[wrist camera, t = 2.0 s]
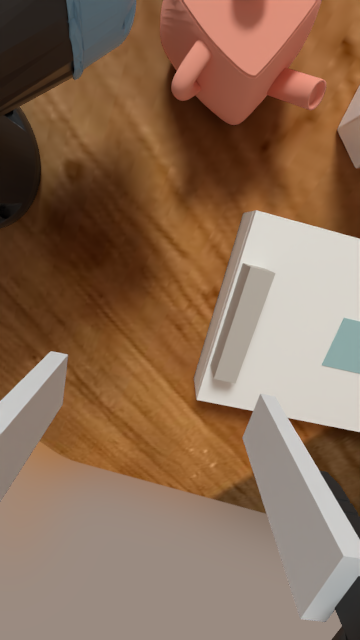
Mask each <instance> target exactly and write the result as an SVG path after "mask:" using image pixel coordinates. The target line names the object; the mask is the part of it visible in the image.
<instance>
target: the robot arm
mask: <svg viewBox="0 0 360 640" xmlns="http://www.w3.org/2000/svg"><path fill="white" fill-rule="evenodd" d="M135 10H136V0H0V228H3V227H6V226H8V225H10V224H12V223H14V222H16V221H17V220H18V219H20V218H21V217H22V216H23V215H24V214H25V213H26V212H27V210H28V209H29V208H30V206H31V204H32V203H33V201H34V199H35V196H36V194H37V191H38V187H39V182H40V171H41V166H40V155H39V149H38V145H37V141H36V138H35V135H34V133H33V130H32V128H31V125H30V123H29V121H28V119H27V118H26V116H25V114H24V113H23V111H22V110H21V108H20V107H19V106H21V105H23V104H25V103H27V102H28V101H30V100H32V99H34V98H36V97H38V96H39V95H41V94H43V93H45V92H47V91H49V90H50V89H52V88H54V87H56V86H58V85H59V84H61V83H63V82H65V81H67V80H69V79H70V78H72V77H73V79H74V80H76V79H78V78H79V77H80V76H81V74H82V72H83V70H84V69H85V68H86V67H88V66H89V65H91V64H92V63H94V62H95V61H97V60H98V59H100V58H101V57H103V56H104V55H106V54H107V53H109V52H110V51H112V50H113V49H115V48H116V47H118V46H119V45H120V44H122V43H123V41H124V40H125V39H126V37H127V36H128V34H129V32H130V30H131V27H132V24H133V21H134V16H135ZM67 361H68V354H63V353H58V352H53V351H50V352H49V353H48V354H47V355H46V356H45V357H44V358H43V359H42V360H41V361H40V362H39V363H38V364H37V365H36V366H35V367H34V368H33V369H32V370H31V371H30V372H29V373H28V374H27V375H26V376H25V377H24V378H23V379H22V380H21V381H20V382H19V383H18V384H17V385H16V386H15V387H14V388H13V389H12V390H11V391H10V392H9V393H8V394H7V395H6V396H5V397H4V398H3V399H2V400H1V401H0V502H1V500H2V498H3V497H4V495H5V494H6V492H7V490H8V489H9V487H10V486H11V484H12V482H13V481H14V480H15V478H16V476H17V475H18V473H19V472H20V470H21V468H22V467H23V466H24V464H25V462H26V461H27V459H28V458H29V456H30V455H31V453H32V451H33V450H34V448H35V447H36V445H37V444H38V442H39V441H40V439H41V437H42V436H43V434H44V433H45V431H46V430H47V428H48V426H49V425H50V423H51V422H52V420H53V419H54V417H55V415H56V414H57V412H58V411H59V409H60V408H61V406H62V405H63V396H64V387H65V378H66V370H67ZM243 441H244V444H245V447H246V450H247V454H248V457H249V460H250V463H251V466H252V469H253V472H254V475H255V479H256V482H257V485H258V488H259V491H260V494H261V497H262V501H263V504H264V507H265V510H266V513H267V516H268V519H269V522H270V526H271V529H272V532H273V535H274V538H275V541H276V544H277V548H278V551H279V554H280V557H281V560H282V563H283V566H284V569H285V573H286V576H287V579H288V582H289V585H290V588H291V591H292V595H293V598H294V601H295V604H296V607H297V610H298V613H299V616H300V619H305V620H314V621H322V622H326V621H327V619H328V618H329V617H330V615H331V614H332V613H333V612H334V610H336V612H337V615H338V617H339V619H340V622H341V624H342V627H341V628H340V630H339V631H338V632H337V633H336V635H335V636H334V637H333V639H332V640H360V517H359V516H358V513H357V511H356V510H355V508H354V507H353V505H352V504H351V503H350V500H349V499H348V497H347V496H346V494H345V492H344V491H343V489H342V488H341V486H340V485H339V484H338V483H337V482H336V481H335V480H334V479H333V478H332V477H331V476H330V475H329V474H328V473H327V472H324V471H319V470H318V468H317V466H316V465H315V463H314V461H313V460H312V458H311V456H310V455H309V453H308V451H307V449H306V448H305V446H304V444H303V443H302V441H301V439H300V438H299V436H298V434H297V433H296V431H295V429H294V427H293V426H292V424H291V422H290V421H289V419H288V417H287V416H286V414H285V412H284V411H283V409H282V407H281V405H280V404H279V402H278V400H277V399H276V397H275V396H270V395H265V394H260V396H259V398H258V401H257V403H256V406H255V408H254V411H253V413H252V415H251V418H250V420H249V423H248V425H247V428H246V430H245V433H244V435H243Z"/></svg>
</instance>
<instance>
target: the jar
mask: <svg viewBox="0 0 360 640" xmlns="http://www.w3.org/2000/svg"><path fill="white" fill-rule="evenodd" d="M337 131H338V133H339V135H340V137H341V139H342V141H343V143H344V146H345V148H346V150H347V152H348V154H349V156H350V158H351V160H352V162H353V164H354V167H355V168H360V85H359V87H358V89H357V91H356V93H355V95H354V97H353V99H352V101H351V103H350V105H349V107H348V109H347V111H346V113H345V115H344V117H343V119H342V121H341V123H340V124H339V126H338V129H337Z"/></svg>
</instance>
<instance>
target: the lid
mask: <svg viewBox="0 0 360 640" xmlns="http://www.w3.org/2000/svg"><path fill="white" fill-rule="evenodd" d="M260 394H265V395H270V396H275V397H276V399H277V400H278V402H279V404H280V405H281V407H282V409H283V411H284V412H285V414H286V416H287V417H288V418H291V419H296V420H301V421H306V422H311V423H316V424H321V425H326V426H331V427H336V428H342V429H347V430H352V431H357V432H360V239H359V238H355V237H352V236H348V235H344V234H341V233H337V232H333V231H330V230H326V229H322V228H319V227H315V226H311V225H308V224H304V223H300V222H297V221H293V220H290V219H286V218H282V217H279V216H275V215H271V214H268V213H264V212H260V211H257V210H256V211H254V212H253V215H252V218H251V222H250V225H249V228H248V231H247V234H246V238H245V241H244V244H243V247H242V250H241V254H240V257H239V260H238V263H237V266H236V270H235V273H234V276H233V279H232V282H231V286H230V289H229V292H228V295H227V299H226V302H225V305H224V308H223V311H222V315H221V318H220V321H219V324H218V327H217V331H216V334H215V337H214V340H213V343H212V347H211V350H210V353H209V356H208V359H207V363H206V366H205V369H204V372H203V375H202V379H201V382H200V385H199V388H198V391H197V395H196V399H197V400H200V401H205V402H210V403H215V404H220V405H225V406H230V407H235V408H240V409H246V410H251V411H254V408H255V406H256V403H257V401H258V398H259V396H260Z"/></svg>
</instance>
